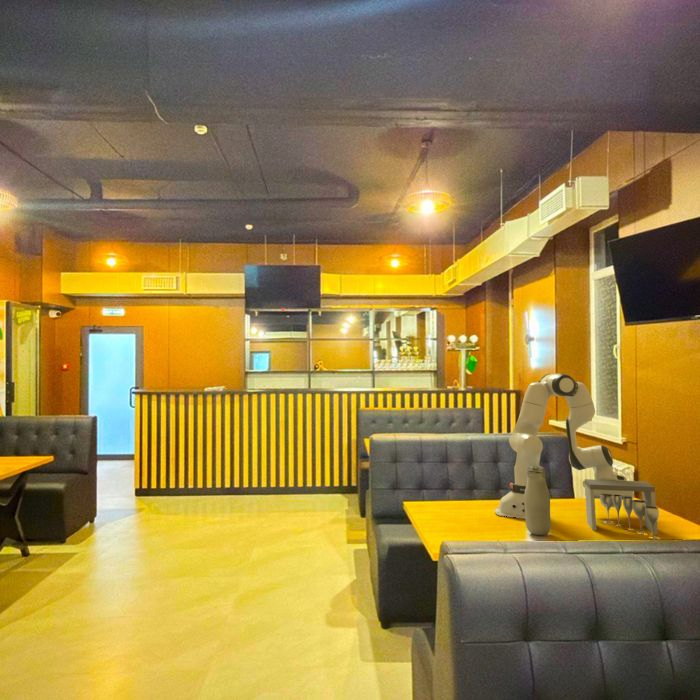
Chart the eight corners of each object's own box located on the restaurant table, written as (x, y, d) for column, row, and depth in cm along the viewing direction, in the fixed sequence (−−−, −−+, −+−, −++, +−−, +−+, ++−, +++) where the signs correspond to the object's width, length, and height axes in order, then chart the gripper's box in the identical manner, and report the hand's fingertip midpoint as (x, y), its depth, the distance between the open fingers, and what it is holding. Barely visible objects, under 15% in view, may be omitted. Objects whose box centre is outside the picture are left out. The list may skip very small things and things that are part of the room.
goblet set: (664, 539, 184) (662, 504, 185) (653, 540, 182) (650, 505, 183) (608, 520, 211) (607, 490, 212) (598, 521, 209) (596, 491, 210)
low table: (592, 530, 196) (589, 484, 197) (587, 522, 207) (584, 479, 209) (657, 534, 189) (654, 487, 190) (648, 526, 200) (645, 481, 202)
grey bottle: (526, 537, 189) (522, 467, 191) (526, 529, 198) (523, 463, 200) (552, 539, 185) (548, 468, 187) (551, 531, 195) (547, 464, 197)
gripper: (582, 475, 224) (587, 501, 214) (630, 477, 218) (637, 503, 208) (581, 483, 228) (586, 508, 218) (628, 485, 222) (635, 511, 212)
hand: (611, 506), depth 213 cm, fingers closed
